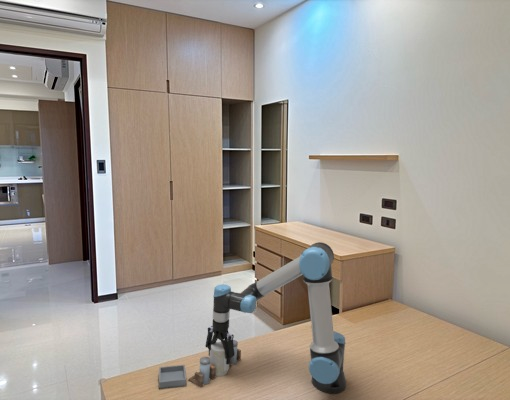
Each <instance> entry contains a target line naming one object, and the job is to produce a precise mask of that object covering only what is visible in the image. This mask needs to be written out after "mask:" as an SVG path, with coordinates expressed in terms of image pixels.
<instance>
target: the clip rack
mask: <svg viewBox="0 0 510 400" xmlns="http://www.w3.org/2000/svg"><path fill="white" fill-rule="evenodd" d="M241 356H242V350H241V349H239V348H237V361H238V362H239V361H241V358H242V357H241ZM231 363H232V358H231V359H230V364H229V369H230V368H231V367H232V365H231ZM215 373H216V367H215V366H213V365H211V364H210V377H209V380H214V379H215V378H216V376H215ZM187 381H188V382H190V383H191V384H193V385H195V386H196V387H200V388H203V387H204V384H203V375H202V374H200V371H196V372H194V375H192V376H191V377H189V378H188V380H187Z"/></svg>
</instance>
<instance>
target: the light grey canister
mask: <svg viewBox="0 0 510 400" xmlns="http://www.w3.org/2000/svg"><path fill="white" fill-rule="evenodd" d="M224 357H226V355H225V350H224V348H223V344H222V343H221V341H216V343H215V344H213V345H211V357H210V356H209V358H210V364H211V365H213V366H215V367H216V373H215V377H223V376H225V375H227V374H228V370H229V369H228V370H227V371H224Z"/></svg>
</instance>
